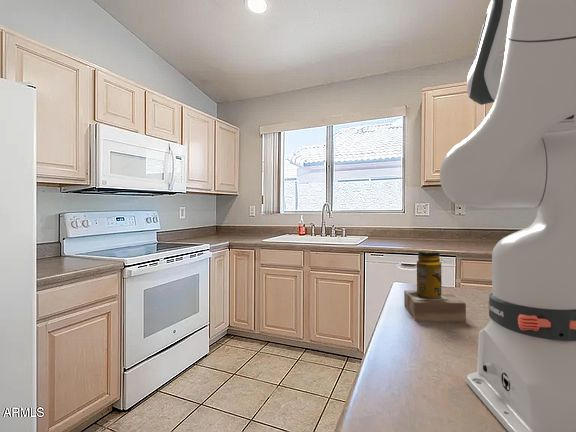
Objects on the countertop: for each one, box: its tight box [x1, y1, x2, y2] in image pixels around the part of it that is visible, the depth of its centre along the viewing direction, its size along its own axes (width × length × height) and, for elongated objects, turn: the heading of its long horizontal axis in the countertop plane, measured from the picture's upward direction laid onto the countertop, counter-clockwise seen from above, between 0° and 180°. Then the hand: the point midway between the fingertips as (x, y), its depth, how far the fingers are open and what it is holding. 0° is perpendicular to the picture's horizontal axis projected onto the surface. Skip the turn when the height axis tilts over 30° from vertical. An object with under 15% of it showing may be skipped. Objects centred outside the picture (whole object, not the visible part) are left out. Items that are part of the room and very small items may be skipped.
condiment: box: [405, 250, 449, 300], centre depth 87 cm, size 7×8×12 cm
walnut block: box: [403, 290, 467, 323], centre depth 87 cm, size 12×12×5 cm
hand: (529, 176), depth 78 cm, fingers open, 8 cm apart
